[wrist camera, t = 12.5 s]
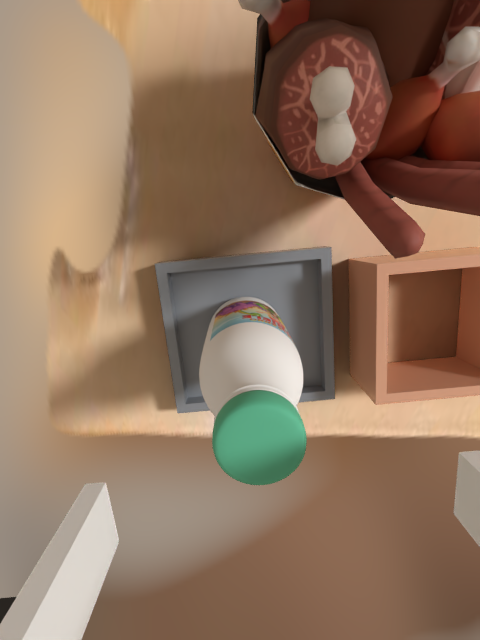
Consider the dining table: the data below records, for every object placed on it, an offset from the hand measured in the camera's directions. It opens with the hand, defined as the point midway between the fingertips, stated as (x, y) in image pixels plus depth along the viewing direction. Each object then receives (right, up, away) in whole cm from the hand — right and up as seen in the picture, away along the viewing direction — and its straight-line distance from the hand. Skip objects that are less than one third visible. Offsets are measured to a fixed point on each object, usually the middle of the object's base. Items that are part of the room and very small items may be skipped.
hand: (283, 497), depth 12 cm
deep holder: (+17, +7, +24) cm, 30 cm away
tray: (-1, +6, +24) cm, 24 cm away
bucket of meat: (+7, +24, +19) cm, 32 cm away
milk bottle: (-1, +5, +23) cm, 24 cm away
